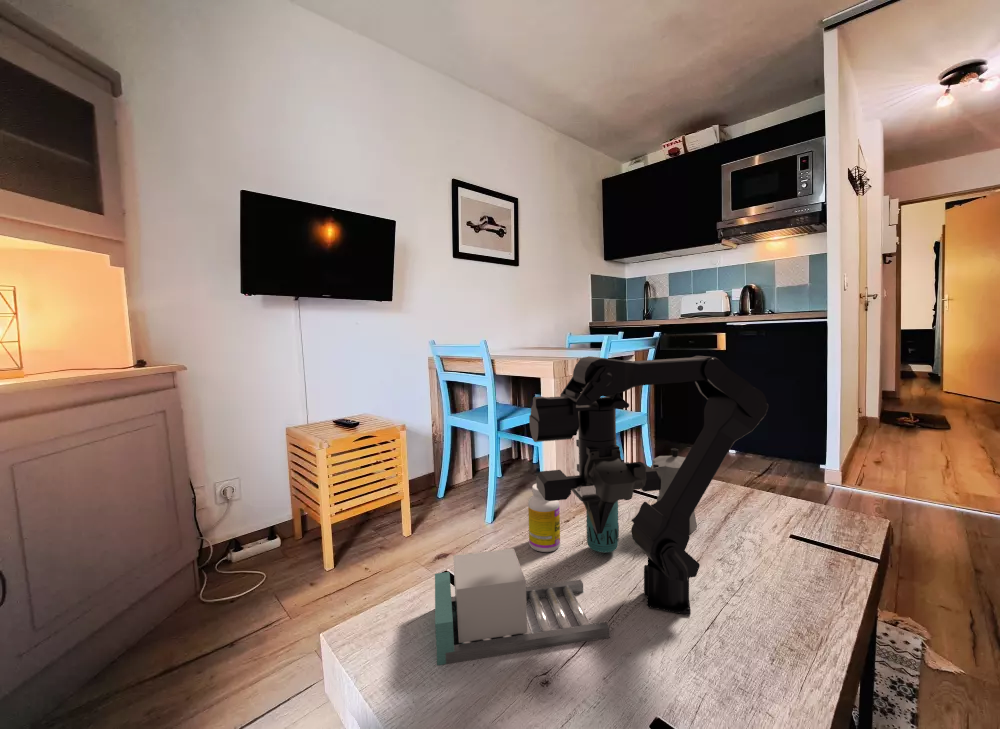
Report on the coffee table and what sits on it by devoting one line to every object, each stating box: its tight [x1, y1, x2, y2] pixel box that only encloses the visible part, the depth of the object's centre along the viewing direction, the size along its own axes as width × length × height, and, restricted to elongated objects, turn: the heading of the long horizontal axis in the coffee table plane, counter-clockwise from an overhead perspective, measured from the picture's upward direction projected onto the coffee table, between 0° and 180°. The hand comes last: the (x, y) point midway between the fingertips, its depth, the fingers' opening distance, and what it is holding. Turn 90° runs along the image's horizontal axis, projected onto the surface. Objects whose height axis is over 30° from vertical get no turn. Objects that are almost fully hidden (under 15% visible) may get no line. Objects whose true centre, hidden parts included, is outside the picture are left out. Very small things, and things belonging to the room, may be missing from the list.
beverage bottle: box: [585, 500, 620, 553], centre depth 83 cm, size 6×7×20 cm
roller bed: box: [434, 571, 611, 666], centre depth 64 cm, size 12×25×6 cm, turn 99°
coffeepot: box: [650, 448, 698, 534], centre depth 93 cm, size 15×9×18 cm, turn 112°
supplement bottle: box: [527, 482, 561, 553], centre depth 86 cm, size 7×7×13 cm
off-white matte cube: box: [453, 547, 528, 644], centre depth 63 cm, size 10×9×8 cm
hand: (598, 532), depth 65 cm, fingers closed
